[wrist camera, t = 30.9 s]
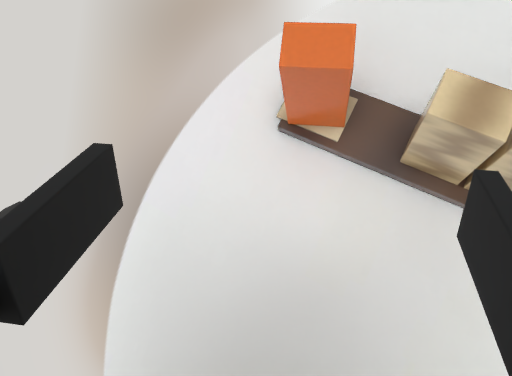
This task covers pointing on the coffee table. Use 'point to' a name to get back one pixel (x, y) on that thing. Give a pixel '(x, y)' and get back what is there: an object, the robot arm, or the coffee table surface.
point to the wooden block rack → (424, 136)
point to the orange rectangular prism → (317, 72)
